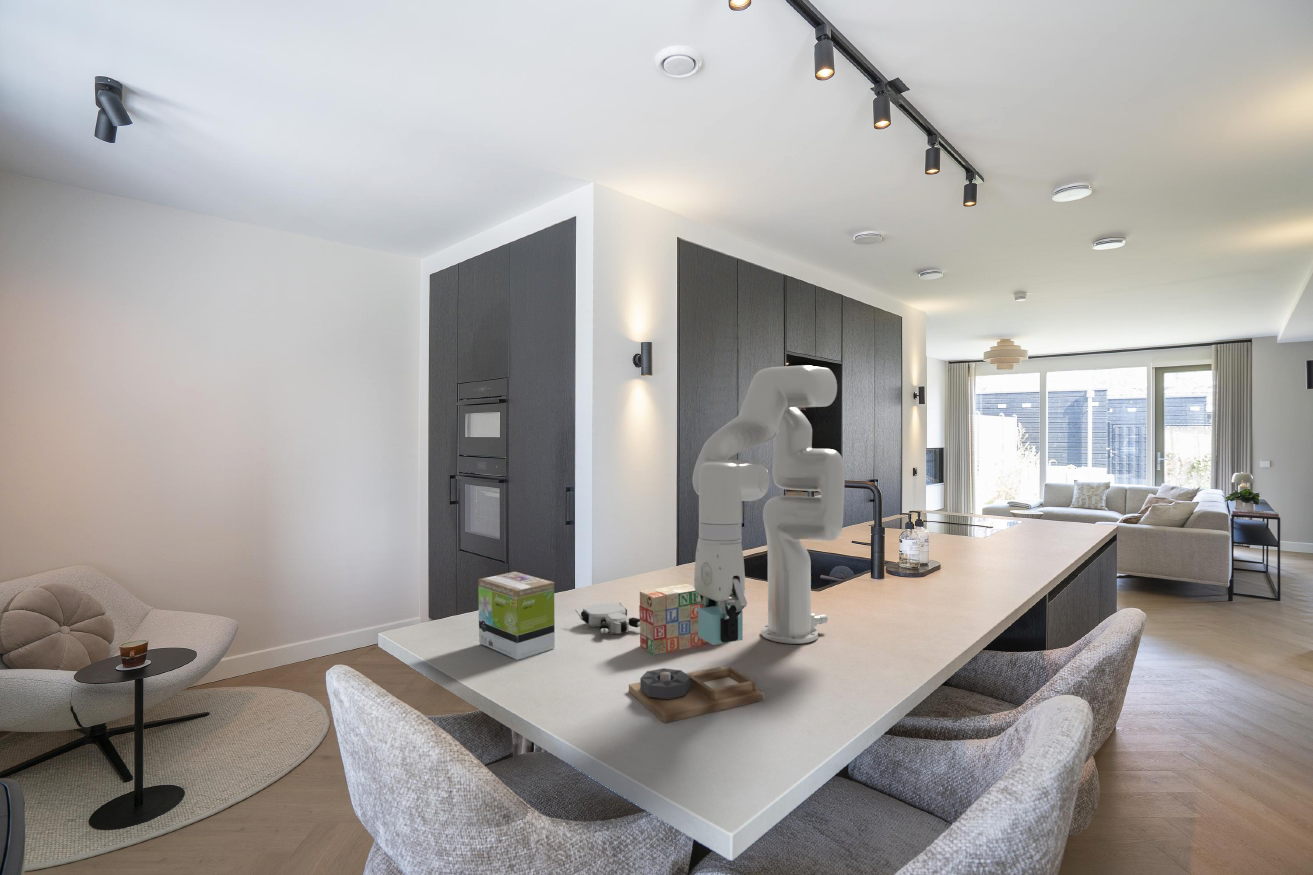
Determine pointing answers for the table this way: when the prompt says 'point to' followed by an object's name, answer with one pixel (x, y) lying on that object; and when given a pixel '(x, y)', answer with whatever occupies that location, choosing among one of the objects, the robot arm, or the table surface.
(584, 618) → the robot toy
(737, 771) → the table surface
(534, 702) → the table surface
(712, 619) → the teal nearly cubic block
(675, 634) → the stack of blocks
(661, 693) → the wheel
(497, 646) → the tea box
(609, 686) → the table surface
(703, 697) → the chassis
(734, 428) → the robot arm
